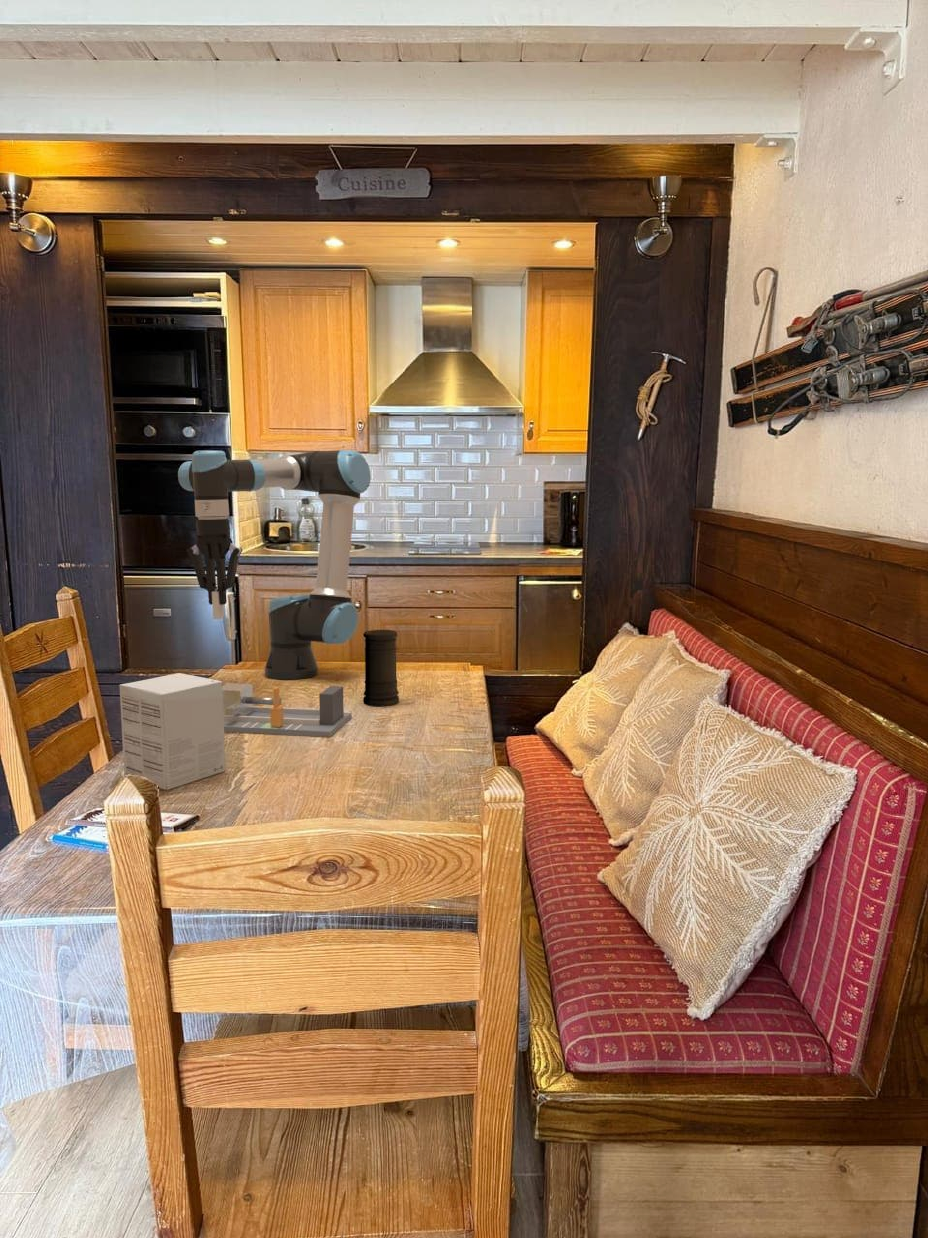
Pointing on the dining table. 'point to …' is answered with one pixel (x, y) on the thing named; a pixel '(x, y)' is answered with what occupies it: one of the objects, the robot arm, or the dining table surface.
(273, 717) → the orange t-shaped stamp
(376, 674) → the container
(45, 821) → the dining table surface
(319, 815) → the dining table surface
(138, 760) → the supplement box
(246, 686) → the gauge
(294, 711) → the grey slider board
